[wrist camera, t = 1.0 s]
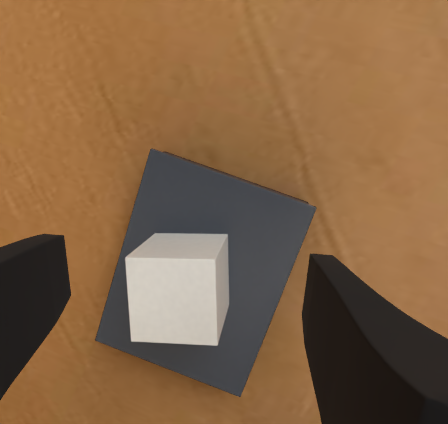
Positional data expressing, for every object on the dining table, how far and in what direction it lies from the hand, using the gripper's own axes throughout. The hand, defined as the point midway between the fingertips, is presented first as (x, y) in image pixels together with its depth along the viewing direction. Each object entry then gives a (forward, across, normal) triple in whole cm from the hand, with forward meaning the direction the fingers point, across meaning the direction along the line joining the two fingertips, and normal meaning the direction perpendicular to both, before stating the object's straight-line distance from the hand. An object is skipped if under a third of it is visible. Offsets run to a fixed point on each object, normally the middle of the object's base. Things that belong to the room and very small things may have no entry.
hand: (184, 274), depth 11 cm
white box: (+11, +1, +6) cm, 12 cm away
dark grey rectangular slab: (+13, +1, +7) cm, 15 cm away
